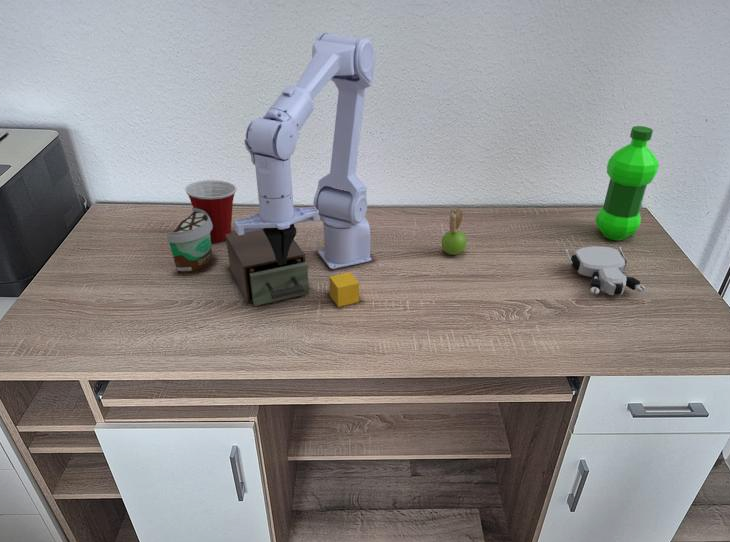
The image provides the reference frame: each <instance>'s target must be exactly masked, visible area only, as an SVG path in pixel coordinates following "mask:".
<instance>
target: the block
mask: <svg viewBox="0 0 730 542" xmlns="http://www.w3.org/2000/svg"><path fill="white" fill-rule="evenodd" d="M328 281H329V282H328V283H329V296H330V298H331V299H332V301H333V302H334V303H335V305H336V306H337V307H338V308H339V307H344V306H349V305H352V304H356V303H360V282H359V281H358V280H357V279H356V277H355V276H354V275H353V274H352V272H351V271H348V272H344V273H339V274H335V275H331V276H329V277H328Z"/></svg>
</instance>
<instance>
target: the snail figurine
mask: <svg viewBox="0 0 730 542" xmlns="http://www.w3.org/2000/svg"><path fill="white" fill-rule="evenodd" d="M449 211H450V214H449V230H448V231H446V232H445V233H444V234H443V236H442V237H441V242H440V243H441V248H442V250H443V252H445V253H446V254H448V255H451V256H456V255H459V254H461V253H463V252H464V251H465V249H466V247H467V243H468V241H467V238H466V235H465V234H464V233H463V232H462V231H460V227H461V224H462V221H463V211H462V209H461V208H456V209H453V208H450V210H449Z"/></svg>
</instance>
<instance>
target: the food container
mask: <svg viewBox="0 0 730 542" xmlns="http://www.w3.org/2000/svg"><path fill="white" fill-rule="evenodd" d="M212 228H213V225H212V222H211V219H210V217H209V216H208V214H207V213H206V212H205V211H203V210H200V209H197V208H193V207H192V212H191V214H190V215H188V217H187V218H185V219H183V220H182V221H181V222H179V224H178V225H177V226H176V228H175V229H174V230H173V231H166V242H167V243H168V244H169V247H170V250H171V253H172V257H173V261H174V265H175V268H176V272H177V275H191V274H196V273H200V272H202V271H205V270H207V269H209V267H210V266H211V265H212V263H213V255H212V242H211V238H210V231H211V230H212Z"/></svg>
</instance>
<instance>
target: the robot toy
mask: <svg viewBox="0 0 730 542" xmlns="http://www.w3.org/2000/svg"><path fill="white" fill-rule="evenodd" d="M565 253H566V256H567V258H568V261H569V265H570V266H571V267H572V268H573V269H574V271H577V273H578V274H579V275H582V276H585V277H589V278H591V279H592V280H591V281H590V284H589V292H590V294H595V295H598V294H599V293H600V291H601V292H602V293H605V294H607V295H609V296H610V295H611V296H614V295H616V296H619V295H621V296H622V295H623V294H624V293H625V289H626V287H627V288H629V289H630V290H632V291H636V292H639V293H641V292H644V291H645V290H646V287H645V286H644V285H643V284H641V281H640V280H638V279H637V278H636V277H634V276H626V275H625V272H624V269H625V268H626V266H627V261H628V259H627V258H626V257H625V255H624V252H623V250H622V247H621V246H618V249H616V248H613V247H608V246H597V245H595V246H594V245H593V246H586V247H581V248H579V249H575V251H573V254H572V255H571V256H570V254H569V250H568V249H567V248H566V249H565Z"/></svg>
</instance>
